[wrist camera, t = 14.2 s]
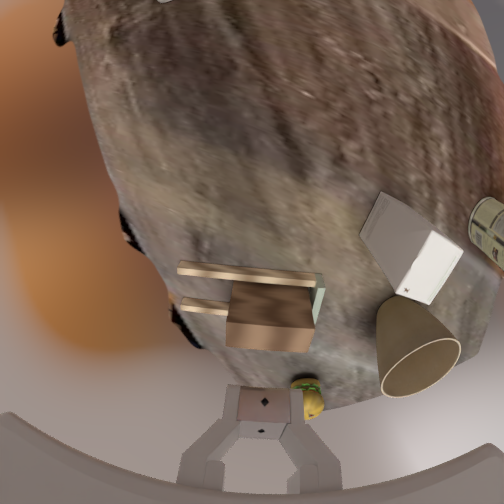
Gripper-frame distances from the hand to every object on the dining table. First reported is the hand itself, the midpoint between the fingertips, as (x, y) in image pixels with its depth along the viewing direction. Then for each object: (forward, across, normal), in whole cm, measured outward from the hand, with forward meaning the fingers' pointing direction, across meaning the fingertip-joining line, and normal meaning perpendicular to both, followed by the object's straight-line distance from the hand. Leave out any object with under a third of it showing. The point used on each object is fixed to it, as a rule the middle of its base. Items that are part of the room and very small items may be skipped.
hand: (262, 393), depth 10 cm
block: (+31, -2, +18) cm, 36 cm away
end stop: (+31, -10, +18) cm, 37 cm away
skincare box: (+31, -19, +3) cm, 37 cm away
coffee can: (+31, -42, -1) cm, 53 cm away
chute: (+31, +2, +18) cm, 36 cm away
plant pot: (+31, -27, +20) cm, 46 cm away
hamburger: (+31, -14, +43) cm, 55 cm away
